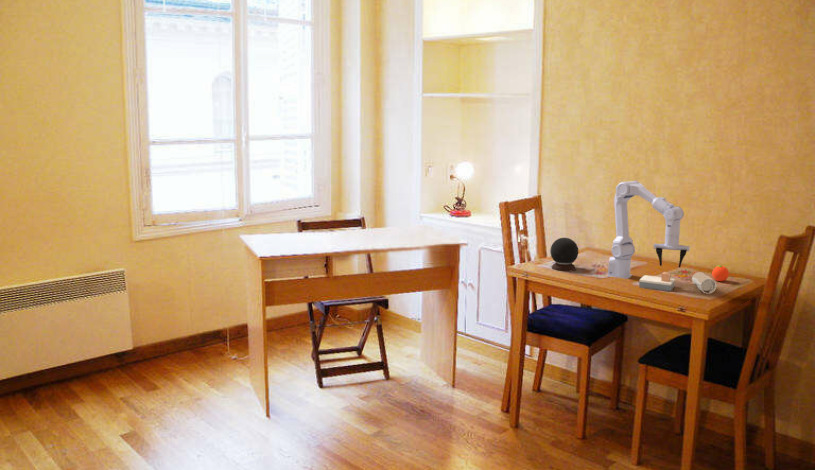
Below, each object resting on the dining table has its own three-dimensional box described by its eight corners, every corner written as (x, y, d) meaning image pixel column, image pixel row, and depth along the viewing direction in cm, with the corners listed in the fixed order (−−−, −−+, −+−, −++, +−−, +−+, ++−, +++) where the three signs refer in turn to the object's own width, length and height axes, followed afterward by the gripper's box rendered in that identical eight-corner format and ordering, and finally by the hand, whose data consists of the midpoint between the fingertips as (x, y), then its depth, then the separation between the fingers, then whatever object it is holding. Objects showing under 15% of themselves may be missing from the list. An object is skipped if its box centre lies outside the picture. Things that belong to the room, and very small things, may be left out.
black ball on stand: (575, 272, 353) (576, 241, 350) (547, 270, 358) (548, 239, 355) (579, 266, 365) (581, 236, 362) (552, 264, 370) (553, 234, 367)
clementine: (706, 279, 343) (707, 264, 341) (717, 278, 345) (719, 262, 344) (719, 283, 335) (721, 268, 334) (731, 282, 338) (733, 266, 337)
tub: (638, 288, 326) (639, 281, 326) (643, 283, 335) (644, 276, 334) (670, 292, 320) (670, 285, 320) (674, 287, 329) (674, 280, 328)
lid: (639, 281, 326) (640, 272, 325) (644, 276, 334) (644, 268, 333) (670, 285, 320) (671, 276, 319) (674, 280, 328) (675, 271, 327)
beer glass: (705, 287, 332) (715, 295, 317) (689, 285, 333) (698, 292, 318) (708, 272, 331) (718, 279, 316) (692, 269, 331) (701, 276, 317)
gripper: (653, 235, 321) (651, 266, 324) (690, 238, 316) (687, 269, 318) (654, 232, 327) (653, 263, 330) (690, 235, 322) (688, 266, 325)
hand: (670, 266), depth 325 cm, fingers open, 7 cm apart
